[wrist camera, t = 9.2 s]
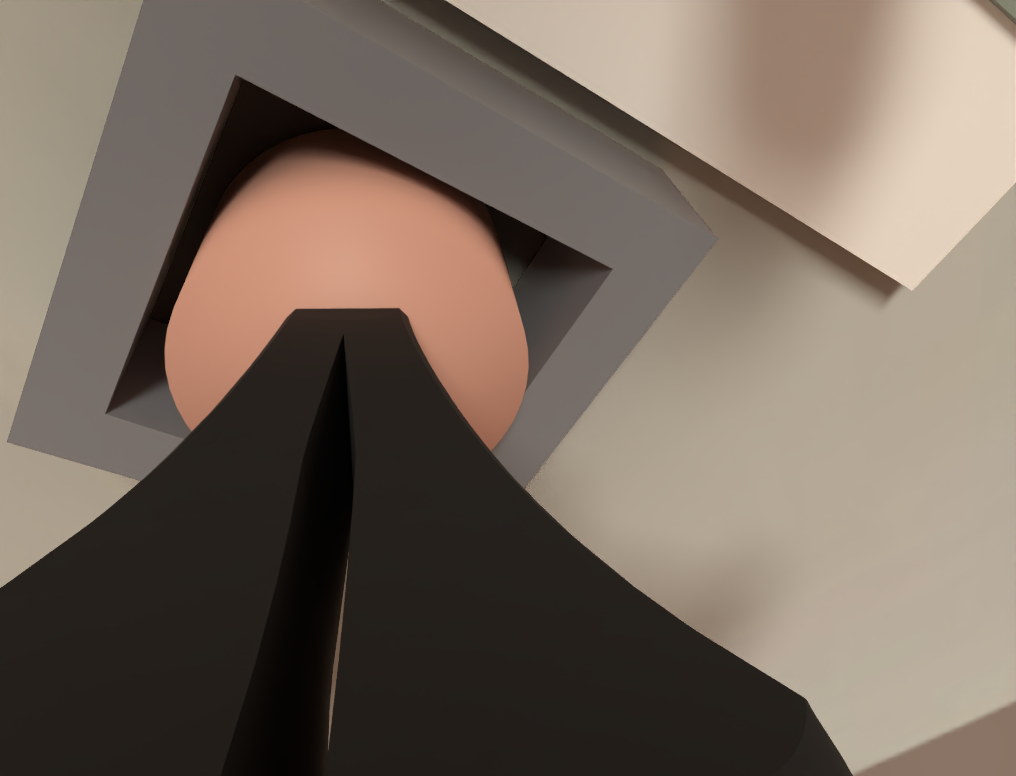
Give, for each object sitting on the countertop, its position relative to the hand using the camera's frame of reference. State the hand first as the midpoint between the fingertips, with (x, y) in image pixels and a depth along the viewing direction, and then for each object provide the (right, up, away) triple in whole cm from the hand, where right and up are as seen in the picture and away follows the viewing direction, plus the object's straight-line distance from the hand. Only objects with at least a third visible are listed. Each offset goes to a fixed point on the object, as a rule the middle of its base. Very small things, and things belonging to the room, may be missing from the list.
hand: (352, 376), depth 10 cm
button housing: (0, +2, +3) cm, 3 cm away
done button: (0, +2, +2) cm, 3 cm away
